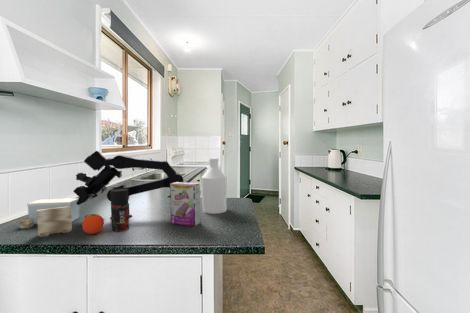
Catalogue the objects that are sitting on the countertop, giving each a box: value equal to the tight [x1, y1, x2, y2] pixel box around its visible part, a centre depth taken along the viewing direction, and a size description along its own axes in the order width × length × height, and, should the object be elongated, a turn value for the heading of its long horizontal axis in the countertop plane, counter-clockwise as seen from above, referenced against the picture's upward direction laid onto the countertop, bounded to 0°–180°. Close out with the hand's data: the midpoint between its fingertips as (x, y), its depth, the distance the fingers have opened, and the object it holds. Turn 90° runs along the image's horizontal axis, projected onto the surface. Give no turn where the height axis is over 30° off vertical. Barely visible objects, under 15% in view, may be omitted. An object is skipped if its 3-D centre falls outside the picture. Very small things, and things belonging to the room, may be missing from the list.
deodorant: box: [109, 188, 130, 233], centre depth 95 cm, size 6×6×15 cm
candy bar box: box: [169, 181, 201, 227], centre depth 101 cm, size 11×5×16 cm, turn 71°
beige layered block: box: [37, 206, 73, 238], centre depth 92 cm, size 10×5×9 cm, turn 126°
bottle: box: [201, 157, 228, 215], centre depth 120 cm, size 12×12×25 cm
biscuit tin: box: [27, 197, 80, 225], centre depth 107 cm, size 16×7×9 cm, turn 97°
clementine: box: [81, 213, 105, 235], centre depth 91 cm, size 8×7×7 cm
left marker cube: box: [19, 217, 35, 229], centre depth 99 cm, size 3×3×3 cm
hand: (77, 204), depth 107 cm, fingers closed
